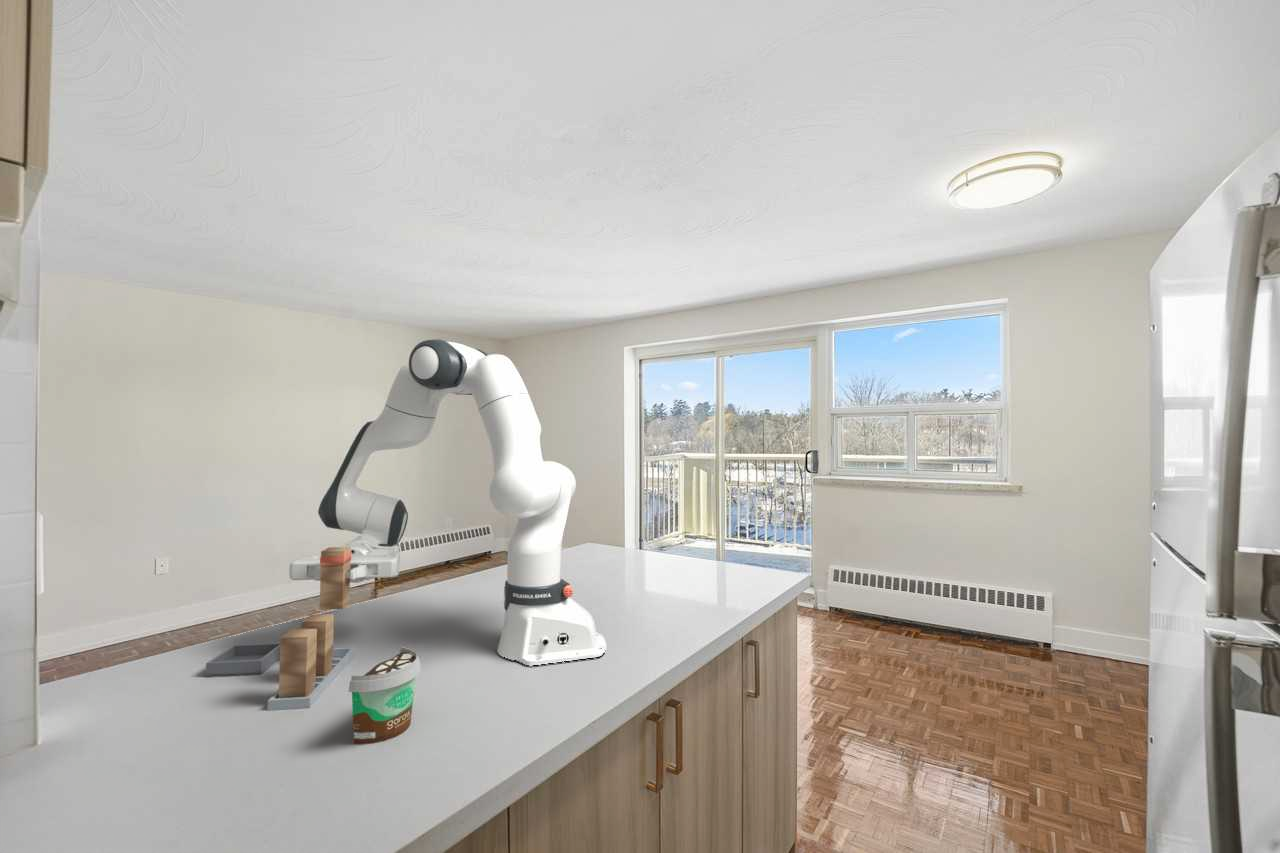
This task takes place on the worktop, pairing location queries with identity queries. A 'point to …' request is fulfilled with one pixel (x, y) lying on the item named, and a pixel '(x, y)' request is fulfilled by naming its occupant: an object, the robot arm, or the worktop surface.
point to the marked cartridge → (334, 578)
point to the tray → (244, 660)
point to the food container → (384, 698)
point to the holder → (320, 684)
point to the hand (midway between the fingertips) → (333, 576)
